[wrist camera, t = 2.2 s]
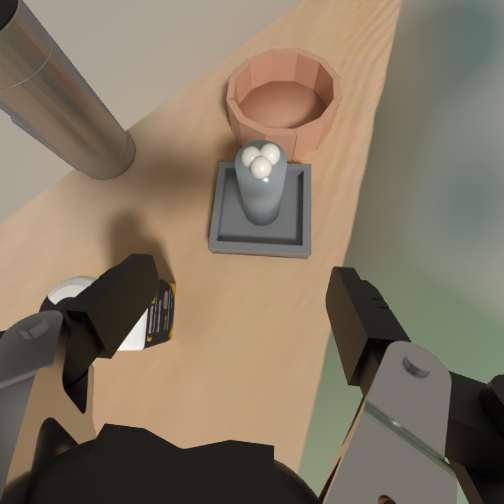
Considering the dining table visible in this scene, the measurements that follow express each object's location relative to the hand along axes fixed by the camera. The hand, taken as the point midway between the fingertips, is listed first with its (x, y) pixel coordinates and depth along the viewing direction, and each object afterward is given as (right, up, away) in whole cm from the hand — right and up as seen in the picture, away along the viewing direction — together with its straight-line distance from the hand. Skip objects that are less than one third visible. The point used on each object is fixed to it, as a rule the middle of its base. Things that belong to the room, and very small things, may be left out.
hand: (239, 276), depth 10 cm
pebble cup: (+2, +7, +20) cm, 21 cm away
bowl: (+5, +23, +25) cm, 35 cm away
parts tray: (+2, +7, +21) cm, 22 cm away
